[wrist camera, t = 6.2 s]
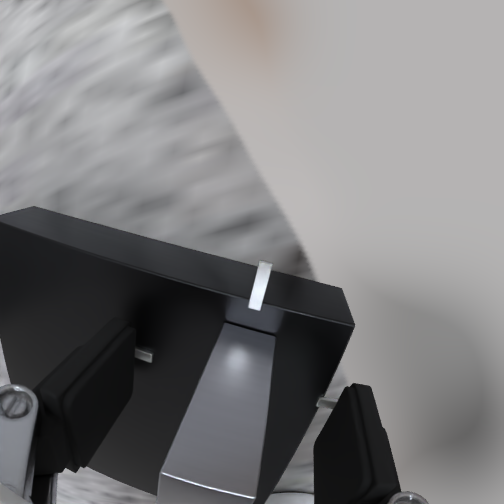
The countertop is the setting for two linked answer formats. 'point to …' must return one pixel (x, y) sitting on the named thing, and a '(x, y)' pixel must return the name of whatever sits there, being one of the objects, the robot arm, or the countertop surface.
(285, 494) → the water bottle
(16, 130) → the countertop surface
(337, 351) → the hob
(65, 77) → the countertop surface
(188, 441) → the knob
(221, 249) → the countertop surface
